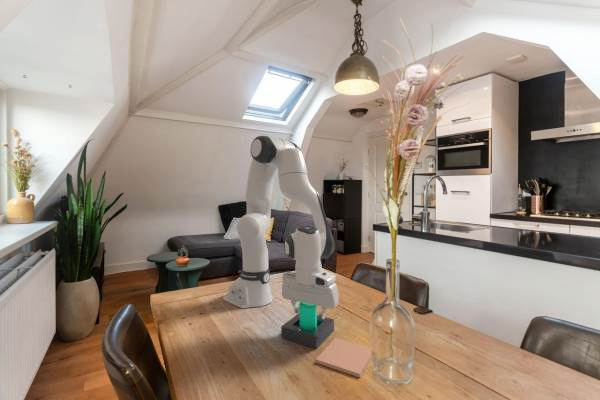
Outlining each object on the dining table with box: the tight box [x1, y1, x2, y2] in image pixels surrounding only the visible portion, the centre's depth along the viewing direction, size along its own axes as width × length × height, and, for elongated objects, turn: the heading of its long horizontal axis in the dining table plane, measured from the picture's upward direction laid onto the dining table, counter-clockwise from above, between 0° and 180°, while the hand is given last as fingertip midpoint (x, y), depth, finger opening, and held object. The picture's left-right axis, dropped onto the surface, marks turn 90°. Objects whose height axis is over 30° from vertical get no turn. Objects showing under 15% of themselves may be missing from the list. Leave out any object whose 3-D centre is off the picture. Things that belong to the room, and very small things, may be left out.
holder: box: [280, 313, 335, 350], centre depth 98 cm, size 13×13×4 cm
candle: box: [298, 302, 318, 331], centre depth 97 cm, size 6×6×12 cm
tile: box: [315, 338, 373, 378], centre depth 84 cm, size 13×13×1 cm
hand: (309, 315), depth 98 cm, fingers open, 8 cm apart
